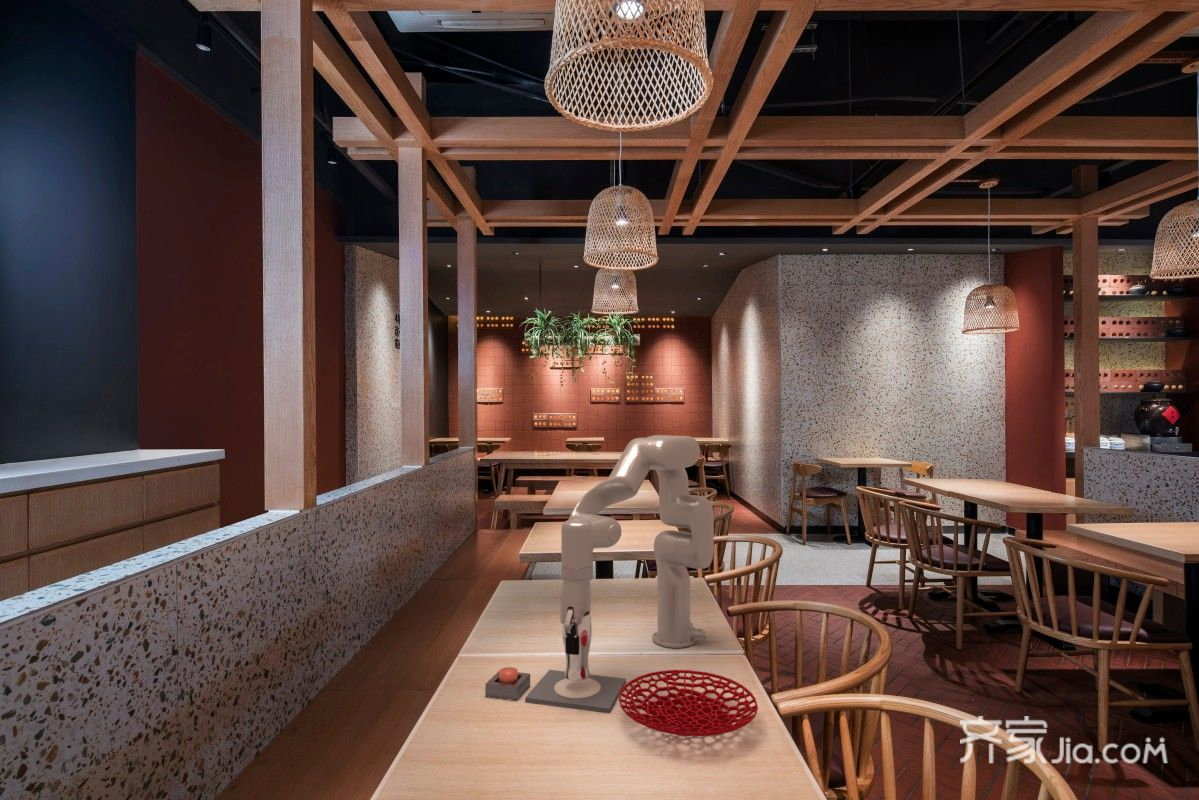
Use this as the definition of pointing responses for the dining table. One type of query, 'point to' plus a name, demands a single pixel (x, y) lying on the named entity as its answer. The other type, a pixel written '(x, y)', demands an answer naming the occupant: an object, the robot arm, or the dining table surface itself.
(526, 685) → the button housing
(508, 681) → the button
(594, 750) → the dining table surface
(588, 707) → the grey rectangular board
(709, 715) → the bowl
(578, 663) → the beer glass
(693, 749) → the dining table surface
